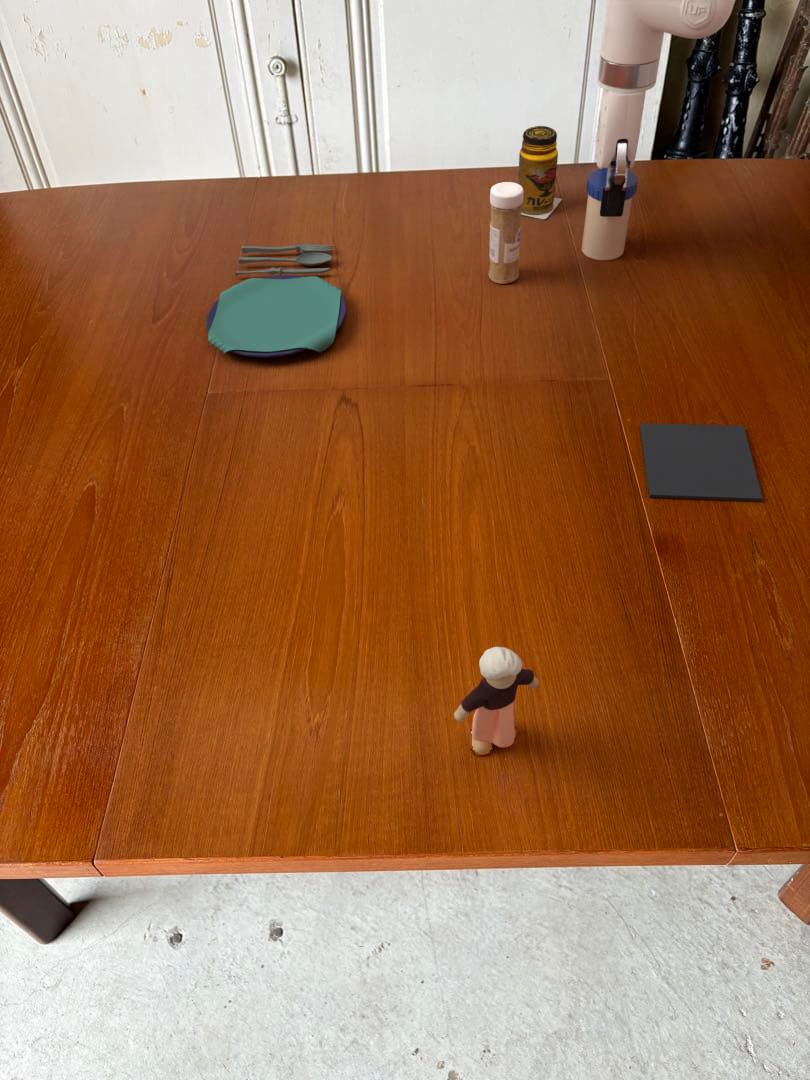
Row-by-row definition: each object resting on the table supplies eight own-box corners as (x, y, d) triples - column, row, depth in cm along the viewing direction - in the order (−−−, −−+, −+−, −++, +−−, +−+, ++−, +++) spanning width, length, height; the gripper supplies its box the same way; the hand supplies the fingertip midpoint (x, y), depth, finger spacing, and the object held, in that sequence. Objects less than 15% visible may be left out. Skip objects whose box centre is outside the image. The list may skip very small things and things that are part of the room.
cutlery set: (196, 369, 110) (192, 355, 108) (232, 253, 130) (229, 240, 128) (342, 365, 109) (340, 351, 107) (356, 249, 129) (355, 235, 127)
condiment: (545, 220, 132) (552, 144, 122) (497, 210, 134) (500, 135, 125) (562, 200, 136) (569, 125, 127) (515, 191, 139) (519, 117, 130)
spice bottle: (518, 285, 119) (523, 196, 109) (487, 285, 120) (489, 196, 110) (518, 268, 122) (523, 180, 112) (488, 268, 123) (490, 180, 113)
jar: (622, 238, 127) (633, 170, 119) (625, 260, 122) (637, 191, 114) (580, 238, 127) (588, 171, 119) (582, 260, 123) (590, 191, 115)
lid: (587, 203, 116) (589, 189, 115) (585, 180, 121) (587, 167, 119) (637, 202, 115) (639, 189, 114) (634, 179, 120) (636, 166, 118)
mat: (742, 428, 97) (743, 425, 96) (761, 501, 89) (762, 498, 88) (639, 426, 98) (640, 423, 97) (649, 497, 90) (649, 494, 90)
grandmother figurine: (476, 774, 70) (479, 699, 60) (449, 742, 72) (447, 664, 62) (543, 725, 72) (556, 645, 63) (515, 695, 75) (523, 614, 65)
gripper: (595, 47, 112) (581, 175, 125) (602, 97, 101) (585, 232, 114) (651, 46, 111) (631, 175, 124) (664, 96, 100) (640, 233, 113)
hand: (609, 202), depth 119 cm, fingers closed on lid, 6 cm apart
